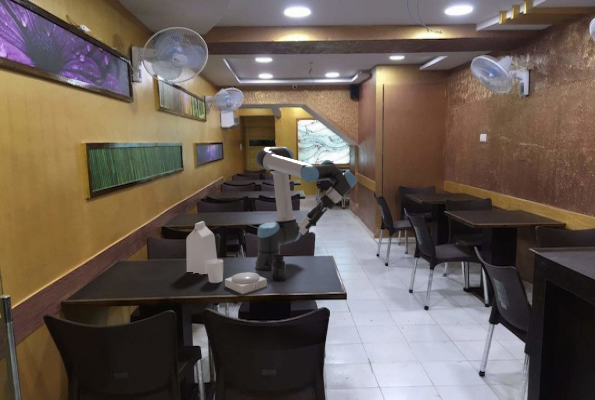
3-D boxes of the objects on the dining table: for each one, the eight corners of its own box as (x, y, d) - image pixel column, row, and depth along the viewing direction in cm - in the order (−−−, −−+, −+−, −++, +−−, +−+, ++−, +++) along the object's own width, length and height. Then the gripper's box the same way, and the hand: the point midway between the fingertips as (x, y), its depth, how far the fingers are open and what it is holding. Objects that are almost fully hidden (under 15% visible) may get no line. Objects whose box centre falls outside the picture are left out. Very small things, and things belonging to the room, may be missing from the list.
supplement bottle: (270, 278, 203) (270, 254, 201) (284, 276, 205) (283, 253, 203) (273, 282, 196) (273, 258, 195) (287, 281, 198) (286, 257, 196)
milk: (205, 274, 210) (202, 225, 206) (186, 272, 214) (183, 224, 211) (217, 267, 221) (215, 220, 217) (200, 265, 225) (197, 219, 222)
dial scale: (225, 286, 193) (224, 276, 192) (249, 279, 202) (249, 270, 201) (243, 294, 182) (242, 284, 181) (267, 286, 191) (267, 277, 191)
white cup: (226, 279, 203) (226, 259, 201) (218, 284, 196) (217, 264, 194) (213, 277, 205) (212, 258, 204) (204, 282, 198) (203, 262, 197)
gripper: (340, 207, 184) (307, 241, 185) (332, 200, 209) (304, 229, 210) (328, 196, 183) (295, 230, 184) (322, 190, 208) (293, 220, 209)
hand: (300, 230), depth 197 cm, fingers open, 13 cm apart
